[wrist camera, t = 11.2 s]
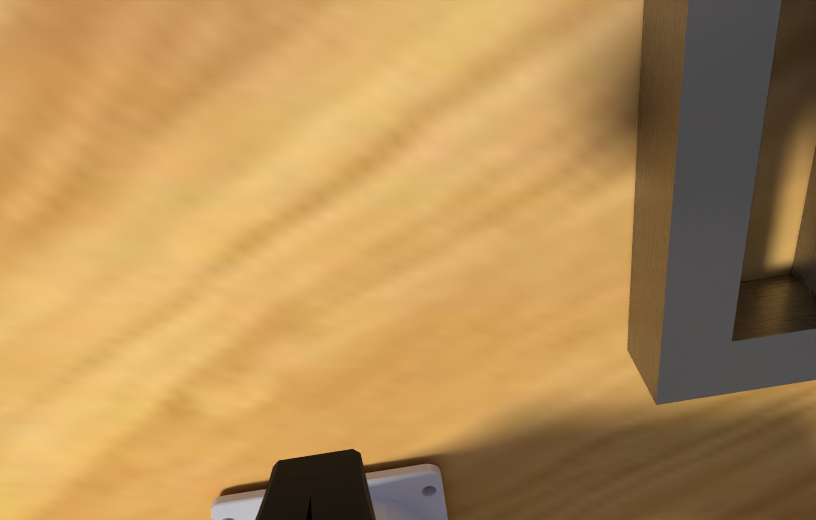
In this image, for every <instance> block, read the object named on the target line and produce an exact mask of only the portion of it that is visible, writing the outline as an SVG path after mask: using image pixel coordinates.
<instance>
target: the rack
mask: <svg viewBox="0 0 816 520" xmlns="http://www.w3.org/2000/svg"><path fill="white" fill-rule="evenodd" d="M781 2H782V0H644V12H643V33H642V54H641V75H640V96H639V117H638V138H637V160H636V181H635V202H634V223H633V244H632V265H631V286H630V307H629V328H628V349H627V350H628V352H629V354H630V356H631V358H632V359H633V361H634V363H635V365H636V367H637V369H638V371H639V373H640V375H641V377H642V379H643V380H644V382H645V384H646V386H647V388H648V390H649V392H650V394H651V396H652V398H653V400H654V401H655V403H656V405H659V404H665V403H671V402H678V401H684V400H690V399H697V398H703V397H709V396H716V395H722V394H728V393H735V392H741V391H747V390H754V389H760V388H766V387H773V386H779V385H785V384H792V383H798V382H804V381H811V380H816V148H815V153H814V158H813V163H812V168H811V174H810V179H809V184H808V189H807V194H806V200H805V205H804V210H803V215H802V221H801V226H800V231H799V236H798V241H797V247H796V252H795V257H794V262H793V267H792V273H791V275H787V276H780V277H774V278H768V279H761V280H755V281H749V282H742V283H740V281H741V274H742V267H743V260H744V253H745V247H746V240H747V233H748V226H749V219H750V213H751V206H752V199H753V192H754V185H755V179H756V172H757V165H758V158H759V151H760V145H761V138H762V131H763V124H764V117H765V111H766V104H767V97H768V90H769V83H770V77H771V70H772V63H773V56H774V49H775V43H776V36H777V29H778V22H779V15H780V9H781Z"/></svg>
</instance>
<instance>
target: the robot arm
mask: <svg viewBox="0 0 816 520" xmlns="http://www.w3.org/2000/svg"><path fill="white" fill-rule="evenodd" d="M427 486H431V487H427ZM211 516H212V519H213V520H448V516H447V510H446V503H445V496H444V490H443V483H442V477H441V471H440V469H439V468H438V467H437V466H436V465H433V464H421V465H414V466H408V467H402V468H395V469H389V470H383V471H376V472H370V473H365V471H364V466H363V462H362V458H361V454H360V453H359V452H357V451H355V450H354V449H349V450H343V451H337V452H330V453H324V454H318V455H311V456H305V457H299V458H292V459H286V460H280V461H278V462H277V463H276V464H275V465H274V466H273V469H272V472H271V476H270V479H269V482H268V485H267V488H266V489H262V490H256V491H250V492H243V493H237V494H231V495H224V496H221V497H217V498H216V499H215V500H213V502H212V505H211Z"/></svg>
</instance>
